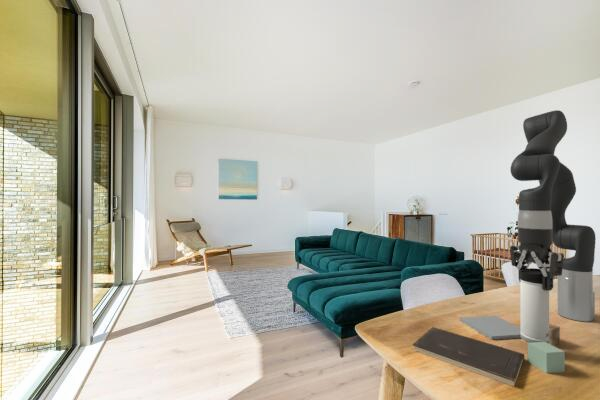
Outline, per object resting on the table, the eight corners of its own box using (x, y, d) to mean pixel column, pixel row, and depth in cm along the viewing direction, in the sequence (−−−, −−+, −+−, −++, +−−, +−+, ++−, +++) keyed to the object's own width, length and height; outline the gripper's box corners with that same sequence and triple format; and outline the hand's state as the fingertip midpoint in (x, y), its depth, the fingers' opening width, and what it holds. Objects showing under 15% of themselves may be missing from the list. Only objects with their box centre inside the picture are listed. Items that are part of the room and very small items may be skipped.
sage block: (544, 360, 75) (544, 341, 75) (564, 372, 70) (564, 351, 70) (527, 362, 75) (527, 342, 75) (546, 373, 70) (546, 352, 70)
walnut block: (539, 336, 89) (539, 320, 89) (559, 343, 84) (559, 326, 84) (530, 340, 87) (530, 323, 87) (551, 347, 82) (551, 330, 82)
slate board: (495, 318, 102) (495, 315, 102) (532, 337, 88) (532, 333, 88) (459, 320, 100) (459, 317, 100) (491, 339, 86) (491, 336, 86)
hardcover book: (514, 390, 64) (514, 380, 64) (412, 352, 80) (412, 344, 80) (524, 361, 76) (524, 352, 76) (433, 333, 92) (433, 326, 92)
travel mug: (556, 347, 77) (556, 272, 77) (528, 344, 78) (528, 271, 78) (541, 336, 83) (541, 266, 83) (515, 334, 84) (515, 265, 84)
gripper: (573, 228, 74) (574, 294, 74) (523, 224, 88) (523, 278, 88) (548, 229, 73) (548, 295, 73) (501, 224, 87) (501, 279, 87)
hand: (534, 286), depth 81 cm, fingers closed on travel mug, 6 cm apart
